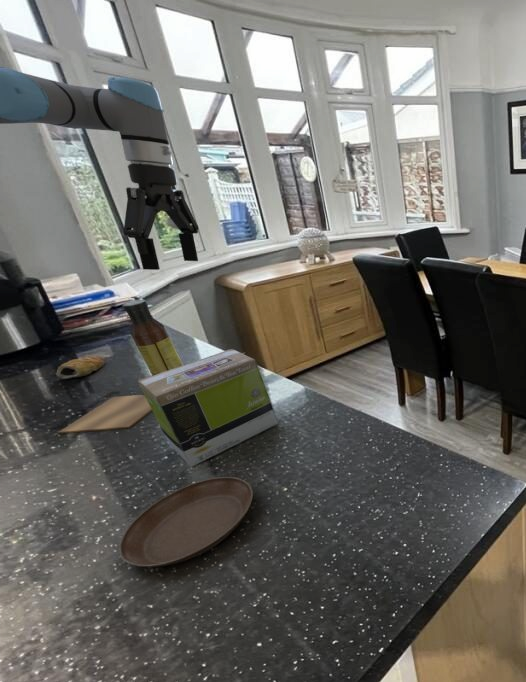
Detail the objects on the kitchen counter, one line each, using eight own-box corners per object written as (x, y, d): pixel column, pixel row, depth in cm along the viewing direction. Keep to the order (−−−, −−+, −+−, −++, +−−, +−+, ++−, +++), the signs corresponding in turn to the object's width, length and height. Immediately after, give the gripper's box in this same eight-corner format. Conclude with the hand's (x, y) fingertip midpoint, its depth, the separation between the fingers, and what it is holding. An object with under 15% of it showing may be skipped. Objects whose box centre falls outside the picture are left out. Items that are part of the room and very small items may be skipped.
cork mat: (59, 433, 77) (58, 432, 77) (113, 398, 89) (113, 396, 89) (129, 428, 78) (128, 426, 78) (174, 394, 90) (173, 392, 90)
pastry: (87, 363, 106) (81, 350, 105) (115, 361, 107) (108, 349, 105) (55, 380, 98) (47, 367, 96) (85, 378, 99) (78, 364, 97)
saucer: (239, 560, 51) (232, 545, 50) (99, 594, 47) (89, 579, 46) (269, 480, 64) (264, 467, 63) (161, 502, 60) (154, 489, 59)
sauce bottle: (184, 369, 101) (153, 295, 93) (188, 377, 97) (156, 301, 89) (152, 378, 97) (116, 302, 89) (154, 387, 93) (117, 308, 85)
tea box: (256, 409, 83) (233, 346, 77) (279, 425, 78) (257, 358, 72) (169, 448, 72) (135, 378, 66) (189, 470, 66) (154, 395, 60)
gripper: (125, 160, 73) (152, 274, 80) (205, 170, 96) (220, 258, 103) (78, 156, 72) (110, 273, 78) (170, 168, 95) (188, 257, 102)
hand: (172, 264), depth 91 cm, fingers open, 13 cm apart
